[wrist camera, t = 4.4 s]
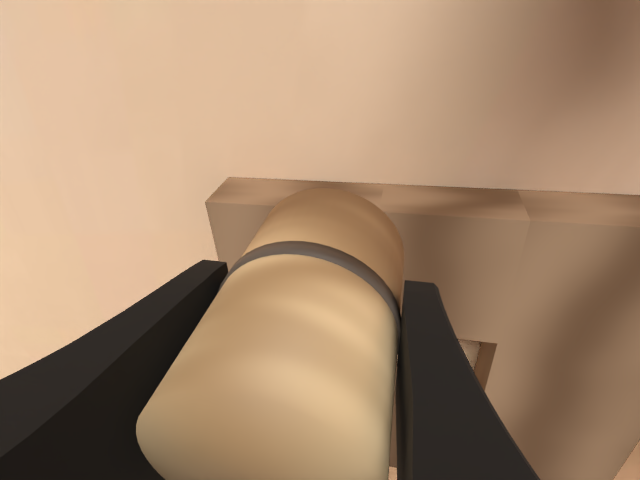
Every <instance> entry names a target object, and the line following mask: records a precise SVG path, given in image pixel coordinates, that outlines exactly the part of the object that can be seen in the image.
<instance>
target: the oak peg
mask: <svg viewBox="0 0 640 480" xmlns="http://www.w3.org/2000/svg"><path fill="white" fill-rule="evenodd" d="M403 268H404V249H403V243H402V240H401V237H400V235H399V232H398V230H397V228H396V227H395V225H394V224H393V222H392V221H391V220H390V218H389V217H388V216H387V215H386V214H385V213H384V212H383V211H382V210H381V209H380V208H378V207H377V206H376V205H374V204H373V203H371V202H370V201H368V200H367V199H365V198H363V197H361V196H359V195H356V194H353V193H351V192H347V191H343V190H339V189H331V188H315V189H308V190H304V191H300V192H297V193H295V194H292V195H290V196H288V197H287V198H285V199H283V200H282V201H281V202H279V203H278V204H277V205H276V206H275V207H274V208H273V209H272V210H271V212H270V213H269V215H268V216H267V218H266V219H265V221H264V222H263V224H262V226H261V227H260V229H259V230H258V232H257V233H256V235H255V236H254V238H253V240H252V241H251V243H250V244H249V246H248V247H247V249H246V250H245V252H244V254H243V255H242V257H241V258H240V259H239V260H238V261H237V262H236V263H235V264H234V265H233V266H232V268H231V269H230V271H229V272H228V274H227V276H226V277H225V279H224V280H223V282H222V283H221V285H220V288H219V290H218V293H217V296H216V297H215V299H214V300H213V302H212V303H211V305H210V306H209V308H208V309H207V311H206V313H205V314H204V316H203V317H202V319H201V320H200V322H199V323H198V325H197V327H196V328H195V330H194V331H193V333H192V334H191V336H190V337H189V339H188V341H187V342H186V344H185V345H184V347H183V348H182V350H181V351H180V353H179V355H178V356H177V358H176V359H175V361H174V362H173V364H172V365H171V367H170V369H169V370H168V372H167V373H166V375H165V376H164V378H163V379H162V381H161V383H160V384H159V386H158V387H157V389H156V390H155V392H154V393H153V395H152V397H151V398H150V400H149V401H148V403H147V404H146V406H145V407H144V409H143V411H142V412H141V414H140V415H139V417H138V420H137V424H136V435H137V440H138V443H139V446H140V448H141V451H142V452H143V454H144V455H145V457H146V459H147V460H148V461H149V463H150V464H151V465H152V467H153V468H154V469H155V470H156V471H157V472H158V473H159V474H160V475H161V476H162V477H163V478H164V479H165V480H388V474H389V460H390V447H391V433H392V419H393V405H394V392H395V378H396V364H397V354H398V352H399V343H400V332H401V314H400V309H401V296H402V282H403Z"/></svg>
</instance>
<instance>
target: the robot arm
mask: <svg viewBox="0 0 640 480" xmlns="http://www.w3.org/2000/svg"><path fill="white" fill-rule="evenodd" d="M227 274H228V267H227V262H220V261H210V260H202V261H200V262H198V263H197V264H195V265H193V266H192V267H190V268H189V269H187V270H185V271H184V272H182V273H181V274H179V275H178V276H176V277H175V278H173V279H172V280H170V281H169V282H167V283H166V284H164V285H163V286H161V287H160V288H158V289H157V290H155V291H154V292H152V293H151V294H149V295H148V296H146V297H144V298H143V299H141V300H140V301H138V302H137V303H135V304H134V305H132V306H131V307H129V308H128V309H126V310H125V311H123V312H121V313H120V314H118V315H117V316H115V317H113V318H112V319H110V320H108V321H107V322H105V323H103V324H102V325H100V326H98V327H97V328H95V329H93V330H92V331H90V332H88V333H87V334H85V335H83V336H82V337H80V338H79V339H77V340H75V341H73V342H72V343H70V344H68V345H66V346H65V347H63V348H61V349H59V350H57V351H55V352H54V353H52V354H50V355H48V356H46V357H44V358H42V359H40V360H39V361H37V362H35V363H33V364H31V365H29V366H27V367H25V368H23V369H21V370H19V371H17V372H15V373H13V374H11V375H9V376H7V377H5V378H3V379H1V380H0V480H165V479H164V478H163V477H162V476H161V475H160V474H159V473H158V472H157V471H156V470H155V469H154V468H153V467H152V465H151V464H150V463H149V461H148V460H147V459H146V457H145V455H144V454H143V452H142V451H141V448H140V446H139V443H138V440H137V435H136V424H137V420H138V417H139V415H140V414H141V412H142V411H143V409H144V407H145V406H146V404H147V403H148V401H149V400H150V398H151V397H152V395H153V393H154V392H155V390H156V389H157V387H158V386H159V384H160V383H161V381H162V379H163V378H164V376H165V375H166V373H167V372H168V370H169V369H170V367H171V365H172V364H173V362H174V361H175V359H176V358H177V356H178V355H179V353H180V351H181V350H182V348H183V347H184V345H185V344H186V342H187V341H188V339H189V337H190V336H191V334H192V333H193V331H194V330H195V328H196V327H197V325H198V323H199V322H200V320H201V319H202V317H203V316H204V314H205V313H206V311H207V309H208V308H209V306H210V305H211V303H212V302H213V300H214V299H215V297H216V296H217V293H218V290H219V288H220V285H221V283H222V282H223V280H224V279H225V277H226V276H227ZM395 399H396V445H397V480H540V478H539V477H538V475H537V474H536V473H535V471H534V470H533V468H532V467H531V465H530V464H529V462H528V461H527V459H526V458H525V456H524V455H523V453H522V452H521V450H520V449H519V447H518V446H517V444H516V443H515V441H514V440H513V438H512V437H511V435H510V433H509V432H508V430H507V429H506V427H505V425H504V424H503V422H502V421H501V419H500V417H499V416H498V414H497V412H496V411H495V409H494V407H493V405H492V404H491V402H490V400H489V398H488V397H487V395H486V393H485V391H484V390H483V388H482V386H481V384H480V383H479V381H478V379H477V377H476V375H475V373H474V371H473V369H472V367H471V365H470V363H469V361H468V359H467V357H466V355H465V353H464V351H463V349H462V347H461V345H460V343H459V341H458V339H457V337H456V335H455V332H454V330H453V328H452V325H451V323H450V321H449V318H448V316H447V313H446V311H445V308H444V305H443V302H442V299H441V296H440V293H439V288H438V287H437V286H436V285H435V284H434V283H430V282H420V281H410V280H405V282H404V293H403V303H402V314H401V332H400V343H399V352H398V359H397V372H396V386H395Z"/></svg>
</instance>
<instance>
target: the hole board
mask: <svg viewBox="0 0 640 480" xmlns="http://www.w3.org/2000/svg"><path fill="white" fill-rule="evenodd" d="M315 188H331V189H339V190H343V191H347V192H351V193H353V194H356V195H359V196H361V197H363V198H365V199H367V200H368V201H370V202H371V203H373V204H374V205H376V206H377V207H378V208H380V209H381V210H382V211H383V212H384V213H385V214H386V215H387V216H388V217H389V218H390V220H391V221H392V222H393V224H394V225H395V227H396V228H397V230H398V232H399V235H400V237H401V240H402V243H403V249H404V268H403V282H402V296H401V309H400V314H402V303H403V293H404V282H405V280H410V281H420V282H430V283H434V284H435V285H436V286H437V287H438V288H439V293H440V296H441V299H442V302H443V305H444V308H445V311H446V313H447V316H448V318H449V321H450V323H451V325H452V328H453V330H454V332H455V335H456V337H457V339H464V340H472V341H481V346H480V350H479V354H478V358H477V363H476V367H475V371H474V373H475V375H476V377H477V379H478V381H479V383H480V384H481V386H482V388H483V390H484V391H485V393H486V395H487V397H488V398H489V400H490V402H491V404H492V405H493V407H494V409H495V411H496V412H497V414H498V416H499V417H500V419H501V421H502V422H503V424H504V425H505V427H506V429H507V430H508V432H509V433H510V435H511V437H512V438H513V440H514V441H515V443H516V444H517V446H518V447H519V449H520V450H521V452H522V453H523V455H524V456H525V458H526V459H527V461H528V462H529V464H530V465H531V467H532V468H533V470H534V471H535V473H536V474H537V475H538V477H539V478H540V480H613V479H614V478H615V476H616V475H617V473H618V472H619V470H620V469H621V467H622V466H623V464H624V463H625V461H626V460H627V458H628V457H629V455H630V454H631V452H632V451H633V449H634V448H635V446H636V445H637V443H638V442H639V440H640V195H620V194H597V193H574V192H552V191H529V190H506V189H483V188H460V187H437V186H415V185H392V184H369V183H346V182H323V181H301V180H278V179H255V178H232V177H228V178H227V179H226V180H225V182H224V183H223V184H222V185H221V186H220V187H219V188H218V189H217V190H216V191H215V192H214V193H213V194H212V195H211V196H210V197H209V198H208V199H207V200H206V202H205V204H206V208H207V212H208V216H209V221H210V225H211V229H212V234H213V238H214V242H215V247H216V251H217V255H218V260H219V261H220V262H227V267H228V272H229V271H230V269H231V268H232V266H233V265H234V264H235V263H236V262H237V261H238V260H239V259H240V258H241V257H242V255H243V254H244V252H245V250H246V249H247V247H248V246H249V244H250V243H251V241H252V240H253V238H254V236H255V235H256V233H257V232H258V230H259V229H260V227H261V226H262V224H263V222H264V221H265V219H266V218H267V216H268V215H269V213H270V212H271V210H272V209H273V208H274V207H275V206H276V205H277V204H278V203H279V202H281V201H282V200H283V199H285V198H287V197H288V196H290V195H292V194H295V193H297V192H300V191H304V190H308V189H315ZM396 372H397V367H396ZM395 386H396V378H395ZM389 466H391V467H396V468H397V445H396V399H395V392H394V405H393V419H392V433H391V447H390V460H389Z"/></svg>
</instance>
